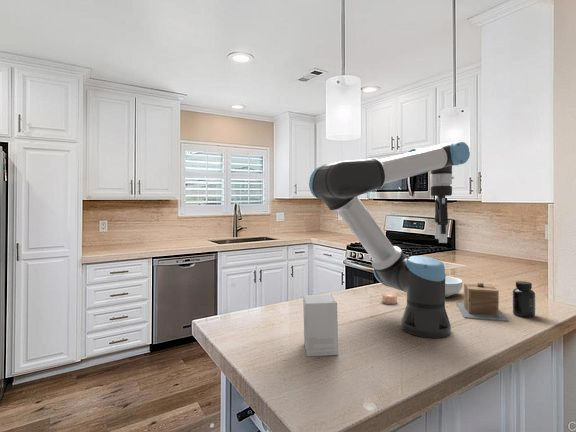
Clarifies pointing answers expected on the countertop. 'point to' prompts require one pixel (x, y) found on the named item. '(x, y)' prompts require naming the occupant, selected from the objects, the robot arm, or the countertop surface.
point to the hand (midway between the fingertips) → (440, 240)
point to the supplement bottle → (524, 300)
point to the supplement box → (320, 325)
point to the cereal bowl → (452, 285)
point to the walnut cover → (481, 299)
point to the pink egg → (389, 298)
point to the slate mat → (478, 316)
